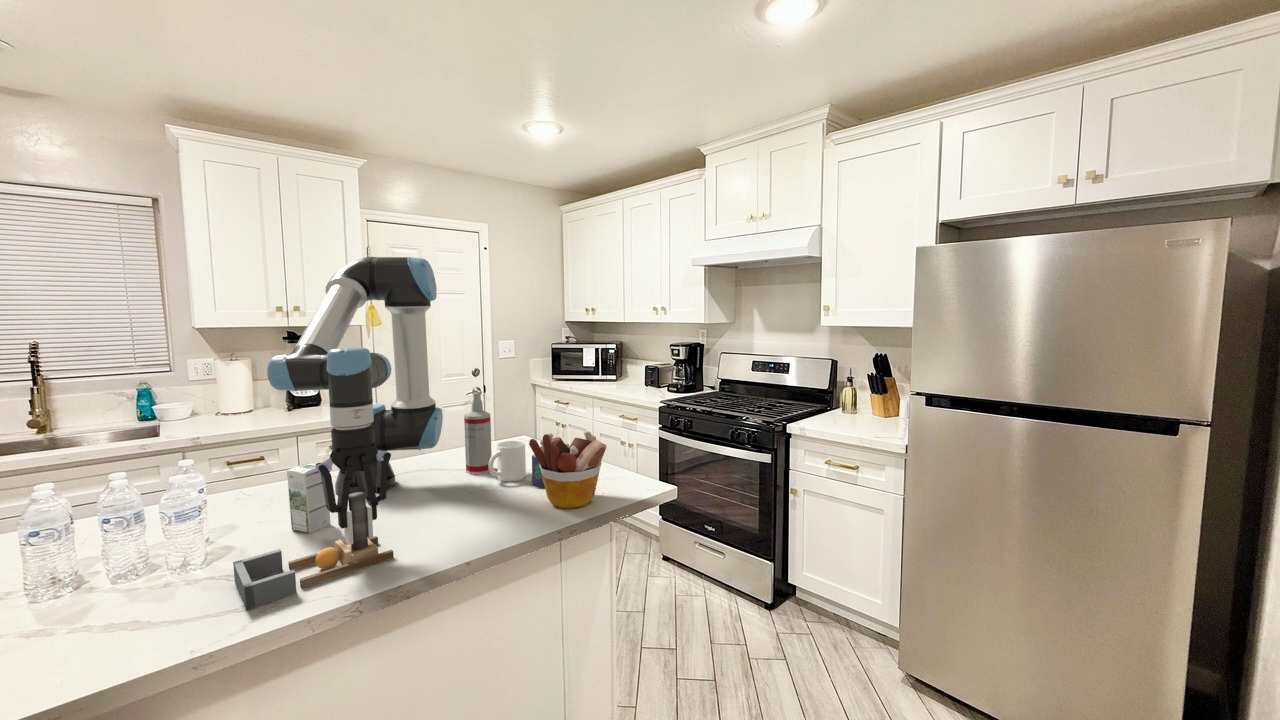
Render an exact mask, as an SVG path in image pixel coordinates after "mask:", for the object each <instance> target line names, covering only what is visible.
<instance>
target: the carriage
mask: <svg viewBox="0 0 1280 720" xmlns="http://www.w3.org/2000/svg"><path fill="white" fill-rule="evenodd" d="M366 504H367V499H366V495H365V493H364V492H356V493H352V494H350V495H349V499H348V509H349V510H350V511H351V512H352V527H353V544H350V545H349V544H348V543H347V544H348V545H347V544H345V543H344V542H343V541H342V540H341V539H338V540H336V541H334V544H335V545H334V548H335V549H336V550H337V551H338V552H339V561H340V563H341V564H342V565H344V564H348V563H351V562H354V561H357V560H360V559H363V558H366V557H370V556H373V555H376V554H379V547H378V546H377V545H375V544H373V543H372V542H371V541H370V540H369V539H368V534H367V516H366ZM339 561H338V562H339Z"/></svg>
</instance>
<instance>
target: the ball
mask: <svg viewBox="0 0 1280 720" xmlns="http://www.w3.org/2000/svg"><path fill="white" fill-rule="evenodd" d="M317 553H318V554H317V556H316V563H315V564H316V566H317V567H318V568H319V569H322V570H329V569H332V568H335V566H337V564H338V563H339V552H338V551H337V550H336V549H335V547H325V548H322V549H321V550H320V551H318V552H317Z"/></svg>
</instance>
